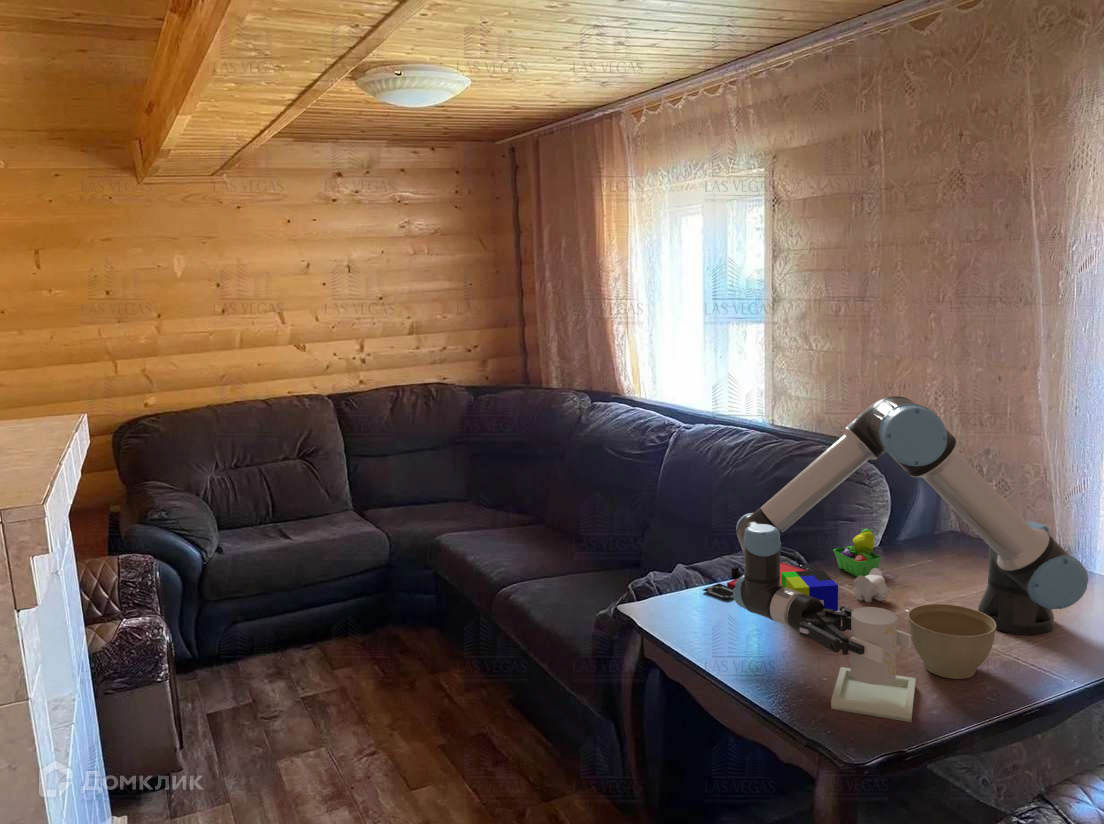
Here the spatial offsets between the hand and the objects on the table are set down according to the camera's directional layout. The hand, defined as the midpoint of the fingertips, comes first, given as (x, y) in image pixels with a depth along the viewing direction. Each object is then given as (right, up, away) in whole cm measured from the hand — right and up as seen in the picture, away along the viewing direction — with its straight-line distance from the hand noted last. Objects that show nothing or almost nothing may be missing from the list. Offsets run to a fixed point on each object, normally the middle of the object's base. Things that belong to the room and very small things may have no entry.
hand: (896, 648), depth 159 cm
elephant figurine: (+15, -2, +51) cm, 54 cm away
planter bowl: (+17, -9, +15) cm, 25 cm away
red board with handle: (-10, -2, +66) cm, 67 cm away
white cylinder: (-2, -7, +5) cm, 9 cm away
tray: (-2, -11, +6) cm, 13 cm away
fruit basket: (+18, +1, +70) cm, 73 cm away
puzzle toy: (-3, -5, +43) cm, 43 cm away
